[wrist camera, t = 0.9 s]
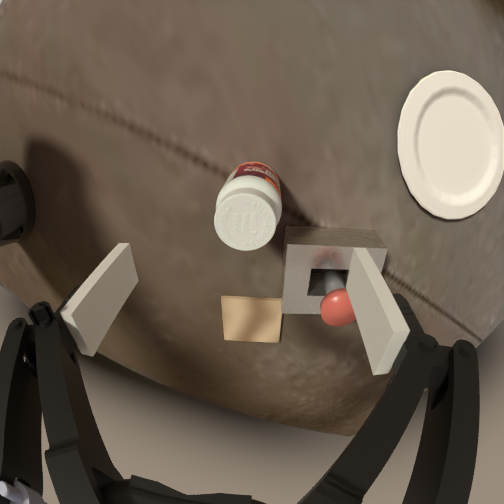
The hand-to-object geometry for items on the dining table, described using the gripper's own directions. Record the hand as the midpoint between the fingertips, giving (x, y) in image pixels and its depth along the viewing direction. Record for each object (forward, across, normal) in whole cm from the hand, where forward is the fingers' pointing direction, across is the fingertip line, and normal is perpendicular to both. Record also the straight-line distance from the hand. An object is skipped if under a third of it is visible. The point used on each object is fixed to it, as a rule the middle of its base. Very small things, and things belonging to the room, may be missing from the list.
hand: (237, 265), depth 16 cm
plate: (+19, +27, +7) cm, 34 cm away
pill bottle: (+19, 0, -1) cm, 19 cm away
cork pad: (+19, 0, -22) cm, 29 cm away
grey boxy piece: (+19, +10, -11) cm, 24 cm away
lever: (+15, +10, -11) cm, 21 cm away
